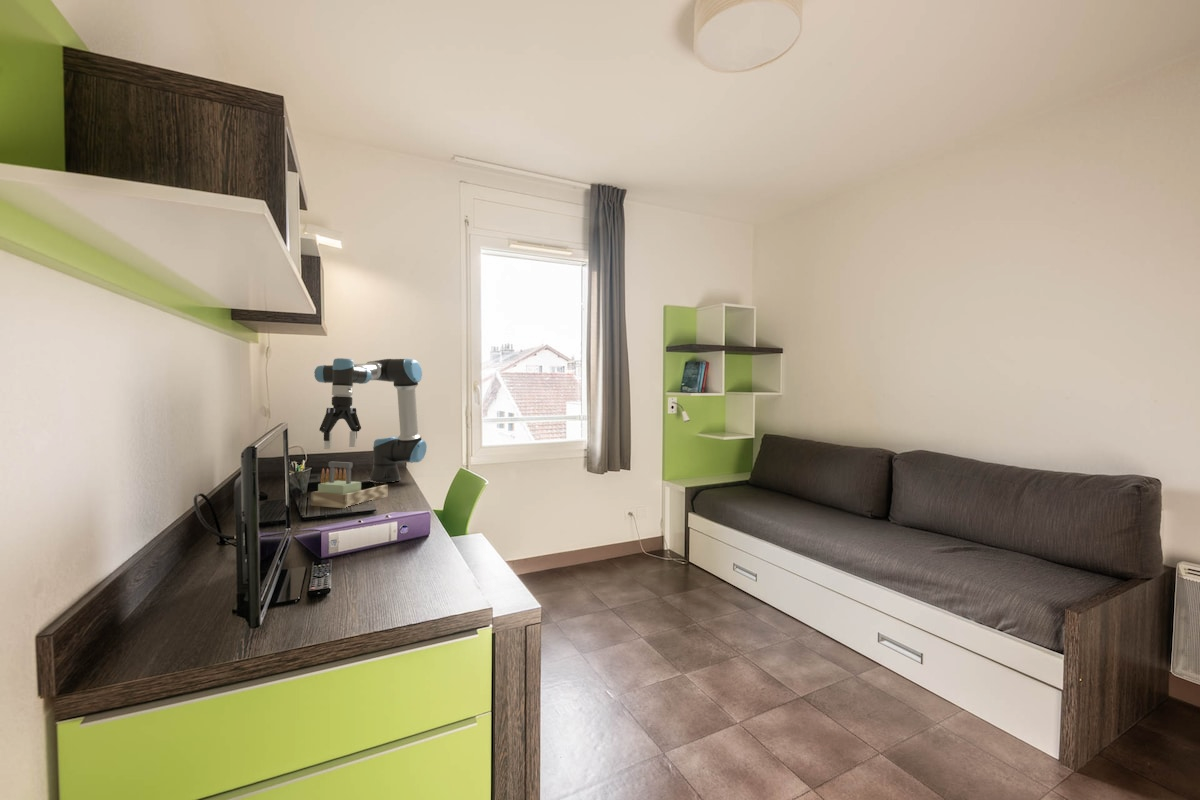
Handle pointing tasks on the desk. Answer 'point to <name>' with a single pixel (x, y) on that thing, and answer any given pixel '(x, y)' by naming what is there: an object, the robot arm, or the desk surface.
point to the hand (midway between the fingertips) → (340, 448)
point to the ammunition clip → (326, 479)
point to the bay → (348, 497)
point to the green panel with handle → (340, 486)
